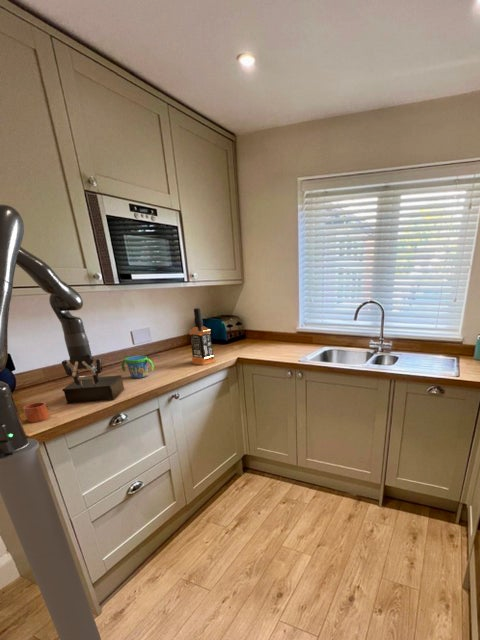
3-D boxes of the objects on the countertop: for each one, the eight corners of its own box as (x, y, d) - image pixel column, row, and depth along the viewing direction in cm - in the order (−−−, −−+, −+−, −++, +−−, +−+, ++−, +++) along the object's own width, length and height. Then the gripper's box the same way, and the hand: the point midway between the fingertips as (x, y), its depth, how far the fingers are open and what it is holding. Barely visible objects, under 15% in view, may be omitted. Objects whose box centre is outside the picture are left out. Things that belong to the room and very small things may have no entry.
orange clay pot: (44, 421, 120) (39, 407, 118) (24, 423, 119) (19, 409, 117) (52, 415, 126) (48, 401, 124) (33, 416, 125) (29, 403, 123)
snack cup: (159, 374, 178) (155, 355, 175) (148, 379, 168) (145, 360, 165) (131, 373, 179) (127, 355, 176) (119, 379, 169) (115, 360, 166)
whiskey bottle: (215, 361, 203) (209, 308, 192) (204, 365, 195) (197, 309, 184) (203, 359, 208) (196, 307, 197) (191, 363, 200) (183, 309, 188)
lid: (110, 387, 138) (107, 376, 136) (62, 391, 134) (59, 379, 132) (121, 376, 153) (119, 366, 151) (79, 379, 149) (76, 368, 147)
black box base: (113, 400, 141) (110, 387, 139) (67, 403, 137) (63, 390, 135) (124, 388, 155) (121, 377, 153) (82, 392, 151) (79, 379, 149)
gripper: (52, 346, 127) (64, 388, 133) (94, 344, 130) (103, 385, 136) (61, 343, 134) (72, 382, 140) (100, 341, 137) (109, 380, 143)
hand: (87, 383), depth 138 cm, fingers closed on lid, 6 cm apart
